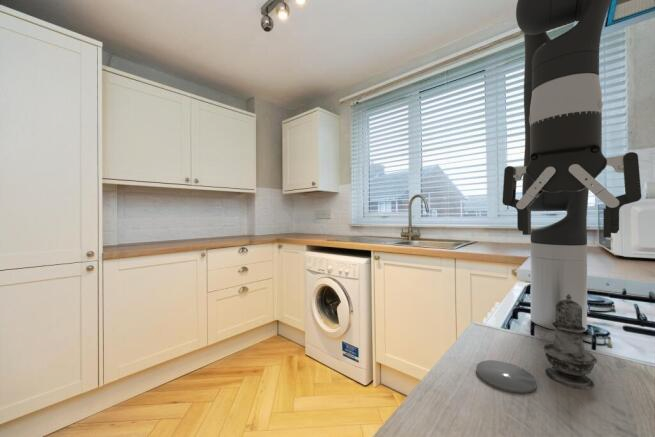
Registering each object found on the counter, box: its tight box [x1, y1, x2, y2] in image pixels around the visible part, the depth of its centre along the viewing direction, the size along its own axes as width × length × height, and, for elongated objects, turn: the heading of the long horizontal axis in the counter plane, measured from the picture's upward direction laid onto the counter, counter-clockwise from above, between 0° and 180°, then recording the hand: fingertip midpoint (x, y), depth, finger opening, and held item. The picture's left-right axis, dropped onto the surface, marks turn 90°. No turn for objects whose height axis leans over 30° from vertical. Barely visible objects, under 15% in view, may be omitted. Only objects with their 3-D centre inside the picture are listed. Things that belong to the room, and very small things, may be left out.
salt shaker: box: [542, 294, 598, 390], centre depth 40 cm, size 6×6×12 cm
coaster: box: [476, 359, 537, 394], centre depth 40 cm, size 7×7×1 cm
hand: (563, 235), depth 39 cm, fingers open, 8 cm apart
